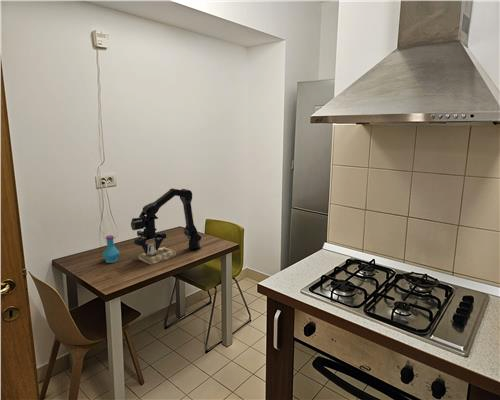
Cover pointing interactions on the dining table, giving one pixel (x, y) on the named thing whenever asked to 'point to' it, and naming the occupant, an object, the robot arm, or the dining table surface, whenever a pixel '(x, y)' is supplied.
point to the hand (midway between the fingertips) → (151, 252)
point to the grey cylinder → (151, 250)
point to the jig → (157, 255)
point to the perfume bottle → (110, 250)
